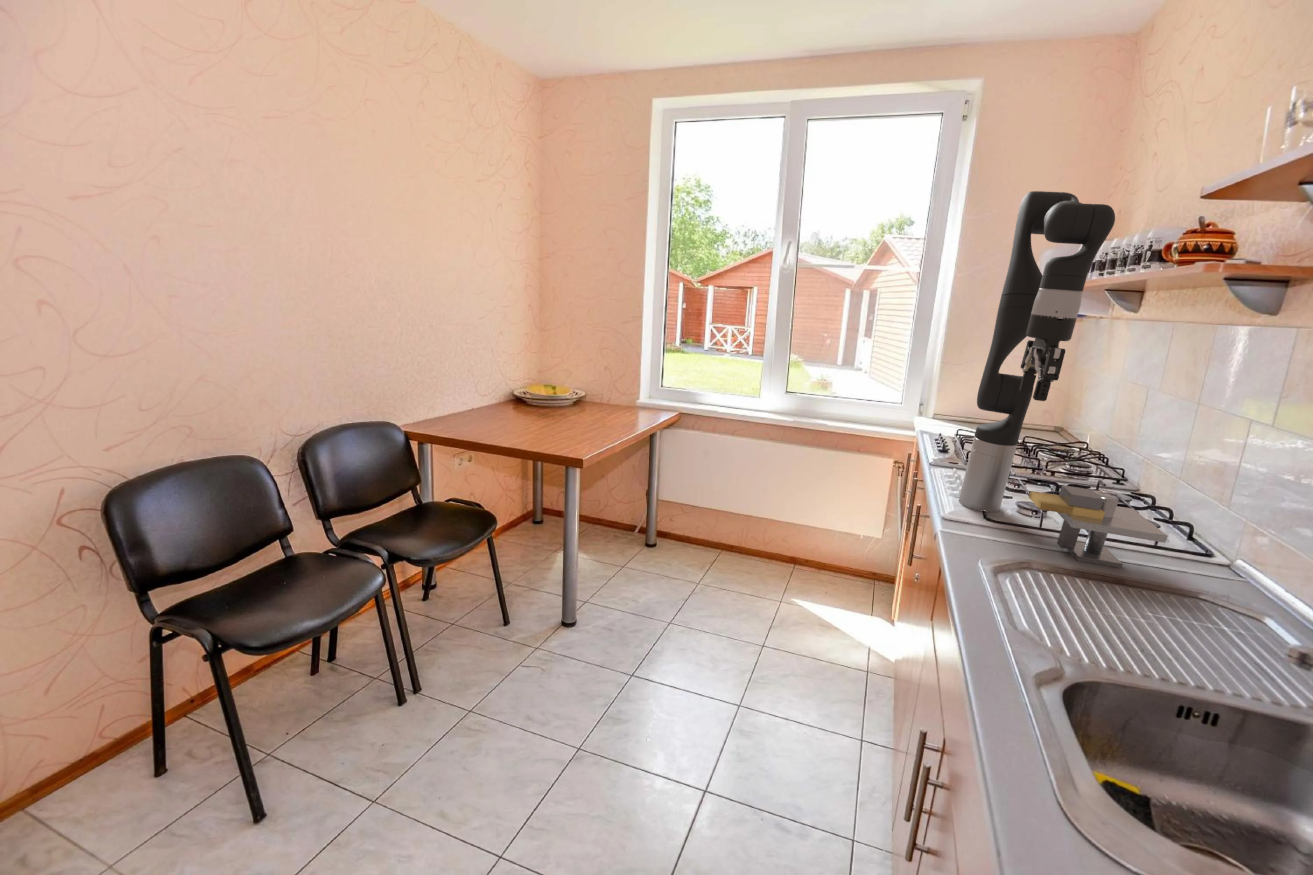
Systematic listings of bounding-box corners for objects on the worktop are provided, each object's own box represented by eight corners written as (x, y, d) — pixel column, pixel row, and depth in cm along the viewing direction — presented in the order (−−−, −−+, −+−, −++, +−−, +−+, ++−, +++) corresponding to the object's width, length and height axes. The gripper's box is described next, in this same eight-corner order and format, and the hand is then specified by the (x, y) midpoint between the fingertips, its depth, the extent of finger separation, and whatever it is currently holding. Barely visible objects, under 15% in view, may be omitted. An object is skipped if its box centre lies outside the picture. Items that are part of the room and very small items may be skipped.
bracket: (1088, 506, 124) (1090, 500, 124) (1102, 519, 117) (1104, 512, 117) (1028, 497, 127) (1030, 490, 126) (1039, 509, 120) (1041, 502, 120)
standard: (1119, 548, 128) (1137, 493, 124) (1151, 579, 115) (1174, 519, 111) (1037, 534, 131) (1053, 480, 128) (1060, 563, 118) (1078, 504, 115)
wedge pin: (1046, 538, 127) (1062, 485, 124) (1075, 543, 126) (1092, 489, 122) (1054, 549, 122) (1071, 494, 119) (1085, 555, 121) (1103, 499, 117)
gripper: (1021, 310, 120) (1001, 387, 125) (1045, 314, 107) (1022, 400, 112) (1062, 313, 118) (1040, 392, 123) (1091, 318, 105) (1066, 406, 110)
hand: (1031, 396), depth 117 cm, fingers open, 8 cm apart
